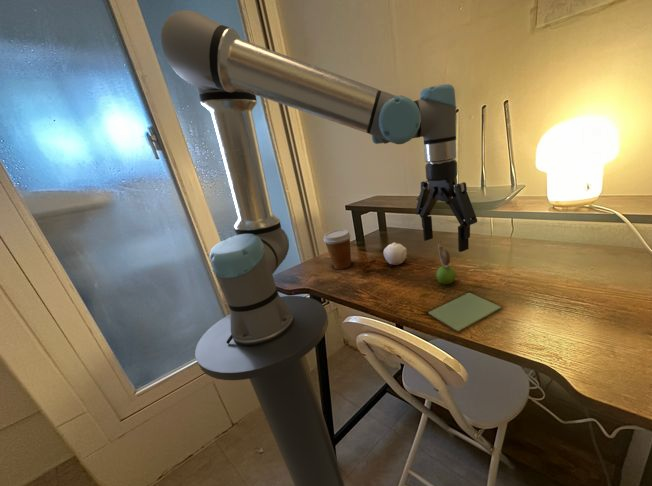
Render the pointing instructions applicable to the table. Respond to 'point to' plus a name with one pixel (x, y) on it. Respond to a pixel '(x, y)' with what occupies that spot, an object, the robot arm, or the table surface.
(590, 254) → the table surface
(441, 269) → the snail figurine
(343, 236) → the disposable coffee cup
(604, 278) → the table surface
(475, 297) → the edge mat
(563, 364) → the table surface
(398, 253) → the garlic bulb
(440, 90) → the robot arm
